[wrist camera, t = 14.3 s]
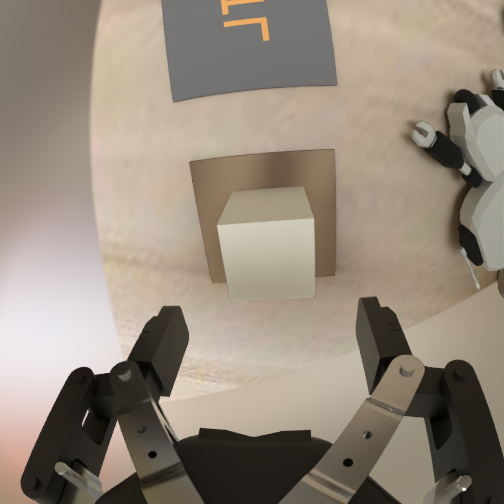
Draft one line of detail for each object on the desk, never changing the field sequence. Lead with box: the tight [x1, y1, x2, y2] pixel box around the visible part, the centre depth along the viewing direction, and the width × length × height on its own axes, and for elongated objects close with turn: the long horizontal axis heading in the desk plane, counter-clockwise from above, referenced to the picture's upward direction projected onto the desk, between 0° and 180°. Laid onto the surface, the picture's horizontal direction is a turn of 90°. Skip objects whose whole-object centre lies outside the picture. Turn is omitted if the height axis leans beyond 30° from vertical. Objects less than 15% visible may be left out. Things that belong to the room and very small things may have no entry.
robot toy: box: [411, 69, 504, 289], centre depth 17 cm, size 12×4×15 cm
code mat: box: [162, 0, 337, 102], centre depth 15 cm, size 11×11×1 cm
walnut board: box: [189, 149, 336, 283], centre depth 22 cm, size 10×10×1 cm
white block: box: [217, 186, 315, 302], centre depth 19 cm, size 5×5×6 cm
